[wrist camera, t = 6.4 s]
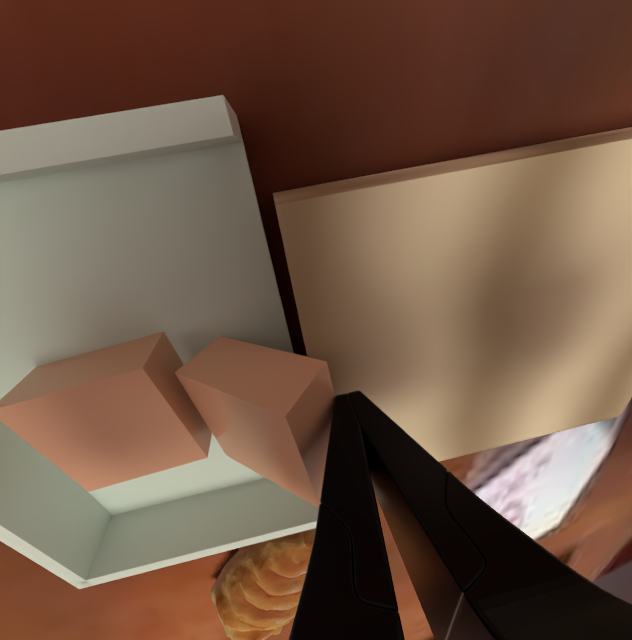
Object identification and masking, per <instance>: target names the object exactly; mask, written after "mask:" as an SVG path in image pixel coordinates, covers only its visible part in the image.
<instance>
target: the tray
mask: <svg viewBox="0 0 632 640" xmlns="http://www.w3.org/2000/svg"><path fill="white" fill-rule="evenodd" d="M163 331H164V333H165V335H166V336H167V338H168V340H169V341H170V343H171V344H172V346H173V348H174V349H175V351H176V352H177V354H178V356H179V357H180V359H181V361H182V362H183V364H184V365H185V364H186V363H187V362H188V361H190V360H191V359H192V358H194V357H195V356H196V355H197V354H199V353H200V352H201V351H202V350H204V349H205V348H206V347H207V346H209V345H210V344H211V343H213V342H214V341H215V340H216V339H218V338H219V337H220V336H223V337H227V338H231V339H235V340H239V341H243V342H248V343H252V344H256V345H260V346H264V347H268V348H273V349H277V350H281V351H285V352H289V353H293V354H294V351H293V347H292V343H291V339H290V334H289V330H288V326H287V322H286V318H285V314H284V309H283V305H282V301H281V297H280V293H279V289H278V285H277V280H276V276H275V272H274V268H273V264H272V260H271V255H270V251H269V247H268V243H267V239H266V235H265V230H264V226H263V222H262V218H261V214H260V210H259V205H258V201H257V197H256V193H255V189H254V185H253V180H252V176H251V172H250V168H249V164H248V160H247V156H246V151H245V147H244V143H243V139H242V135H241V131H240V126H239V122H238V118H237V115H236V114H235V112H234V111H233V109H232V108H231V106H230V104H229V103H228V101H227V100H226V98H225V97H224V95H220V96H214V97H208V98H201V99H195V100H189V101H183V102H176V103H170V104H164V105H158V106H152V107H145V108H139V109H133V110H127V111H121V112H114V113H108V114H102V115H96V116H90V117H83V118H77V119H71V120H65V121H58V122H52V123H46V124H40V125H34V126H27V127H21V128H15V129H9V130H3V131H0V400H1V399H2V398H3V397H4V396H5V395H6V394H7V393H8V392H9V391H10V390H11V389H13V388H14V387H15V386H16V385H17V384H18V383H19V382H20V381H21V380H22V379H23V378H24V377H26V376H27V375H28V374H29V373H30V372H31V371H32V370H33V369H34V368H35V367H36V366H40V365H44V364H47V363H51V362H55V361H58V360H62V359H65V358H69V357H73V356H76V355H80V354H84V353H87V352H91V351H94V350H98V349H102V348H105V347H109V346H113V345H116V344H120V343H123V342H127V341H131V340H134V339H138V338H142V337H145V336H149V335H152V334H156V333H160V332H163ZM318 510H319V508H318V507H316V506H314V505H312V504H311V503H309V502H307V501H305V500H304V499H302V498H300V497H298V496H297V495H295V494H293V493H291V492H290V491H288V490H286V489H284V488H283V487H281V486H279V485H277V484H276V483H274V482H272V481H270V480H269V479H267V478H265V477H263V476H262V475H260V474H258V473H256V472H255V471H253V470H251V469H249V468H248V467H246V466H244V465H242V464H241V463H239V462H237V461H235V460H234V459H232V458H230V457H228V456H227V455H226V454H225V453H224V451H223V449H222V448H221V446H220V445H219V443H218V441H217V440H216V438H215V437H214V435H213V433H212V437H211V442H210V447H209V453H208V458H205V459H201V460H198V461H194V462H191V463H187V464H184V465H180V466H177V467H174V468H170V469H167V470H163V471H160V472H156V473H153V474H149V475H146V476H142V477H139V478H135V479H132V480H128V481H125V482H121V483H118V484H114V485H111V486H107V487H104V488H100V489H97V490H93V491H90V492H88V491H87V490H85V489H84V488H83V487H82V486H80V485H79V484H78V483H77V482H76V481H74V480H73V479H72V478H71V477H69V476H68V475H67V474H66V473H64V472H63V471H62V470H61V469H59V468H58V467H57V466H56V465H54V464H53V463H52V462H51V461H49V460H48V459H47V458H46V457H44V456H43V455H42V454H41V453H39V452H38V451H37V450H36V449H35V448H33V447H32V446H31V445H30V444H28V443H27V442H26V441H25V440H23V439H22V438H21V437H20V436H18V435H17V434H16V433H15V432H13V431H12V430H11V429H10V428H8V427H7V426H6V425H5V424H3V423H2V422H1V421H0V541H1V542H3V543H5V544H6V545H8V546H10V547H11V548H13V549H14V550H16V551H18V552H19V553H21V554H23V555H24V556H26V557H28V558H29V559H31V560H33V561H34V562H36V563H37V564H39V565H41V566H42V567H44V568H46V569H47V570H49V571H51V572H52V573H54V574H56V575H57V576H59V577H60V578H62V579H64V580H65V581H67V582H69V583H70V584H72V585H74V586H75V587H77V588H79V589H81V588H85V587H89V586H93V585H97V584H101V583H105V582H109V581H112V580H116V579H120V578H124V577H128V576H132V575H136V574H140V573H143V572H147V571H151V570H155V569H159V568H163V567H167V566H170V565H174V564H178V563H182V562H186V561H190V560H194V559H198V558H201V557H205V556H209V555H213V554H217V553H221V552H225V551H229V550H232V549H236V548H240V547H244V546H248V545H252V544H256V543H260V542H263V541H267V540H271V539H275V538H279V537H283V536H287V535H290V534H294V533H298V532H302V531H306V530H310V529H314V528H316V523H317V517H318Z"/></svg>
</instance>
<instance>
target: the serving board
mask: <svg viewBox="0 0 632 640" xmlns="http://www.w3.org/2000/svg"><path fill="white" fill-rule="evenodd" d="M273 198H274V203H275V207H276V212H277V217H278V221H279V226H280V231H281V236H282V240H283V245H284V250H285V255H286V259H287V264H288V269H289V273H290V278H291V283H292V288H293V292H294V297H295V302H296V307H297V311H298V316H299V321H300V325H301V330H302V335H303V340H304V344H305V349H306V354H307V357H310V358H314V359H318V360H322V361H327V365H328V369H329V373H330V378H331V382H332V386H333V390H334V394H335V396H336V395H340V394H344V393H347V394H348V393H349V392H353V391H358V390H359V391H361V392H362V393H363V394H364V395H365V396H367V397H368V398H369V399H370V400H371V401H372V402H373V403H374V404H375V405H376V406H378V407H379V408H380V409H381V410H382V411H383V412H384V413H385V414H386V415H387V416H389V417H390V418H391V419H392V420H393V421H394V422H395V423H396V424H397V425H399V426H400V427H401V428H402V429H403V430H404V431H405V432H406V433H407V434H408V435H410V436H411V437H412V438H413V439H414V440H415V441H416V442H417V443H418V444H419V445H421V446H422V447H423V448H424V449H425V450H426V451H427V452H428V453H429V454H431V455H432V456H433V457H434V458H435V459H436V460H437V461H438V462H439V461H443V460H447V459H451V458H455V457H459V456H463V455H467V454H471V453H475V452H479V451H483V450H487V449H491V448H495V447H499V446H503V445H507V444H511V443H515V442H519V441H523V440H527V439H531V438H535V437H539V436H543V435H547V434H551V433H555V432H559V431H563V430H567V429H570V428H574V427H578V426H582V425H586V424H590V423H594V422H598V421H602V420H606V419H610V418H614V417H618V416H620V415H621V414H622V412H623V411H624V409H625V407H626V406H627V404H628V402H629V401H630V399H631V397H632V127H629V128H623V129H618V130H612V131H607V132H602V133H596V134H591V135H585V136H580V137H574V138H569V139H563V140H558V141H553V142H547V143H542V144H536V145H531V146H525V147H520V148H515V149H509V150H504V151H498V152H493V153H487V154H482V155H476V156H471V157H466V158H460V159H455V160H449V161H444V162H438V163H433V164H427V165H422V166H417V167H411V168H406V169H400V170H395V171H389V172H384V173H379V174H373V175H368V176H362V177H357V178H351V179H346V180H340V181H335V182H330V183H324V184H319V185H313V186H308V187H302V188H297V189H291V190H286V191H281V192H275V193H273Z"/></svg>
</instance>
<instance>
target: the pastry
mask: <svg viewBox="0 0 632 640" xmlns="http://www.w3.org/2000/svg"><path fill="white" fill-rule="evenodd" d="M315 529H316V528H314V529H310V530H306V531H302V532H298V533H294V534H290V535H287V536H283V537H279V538H275V539H271V540H267V541H263V542H260V543H256V544H252V545H248V546H244V547H240V548H239V550H238V552H236V553H235V554H234V556H233V557H232V558H231V559H230V560H229V561H228V562H227V563H226V564H225V566H224V567H223V569H222V570H221V573H220V574H219V576H218V577H217V579H216V582H215V584H214V586H213V588H212V590H211V598H212V601H213V602H214V604H215V606H216V609H217V614H218V616H219V618H220V620H221V622H222V624H223V626H224V629H225V633H226V635H227V636H228V637H229V638H230V639H232V640H265V639H266V638H267V637H269V636H270V635H272V634H274V635H276V634H280V632H281V630H282V627H283V625H285V624H287V623H289V622H290V621H291V619H292V618H293V617H295V614H296V610H297V606H298V603H299V599H300V595H301V591H302V587H303V583H304V580H305V576H306V572H307V568H308V563H309V559H310V554H311V550H312V546H313V541H314V535H315Z"/></svg>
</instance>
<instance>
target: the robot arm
mask: <svg viewBox="0 0 632 640" xmlns="http://www.w3.org/2000/svg"><path fill="white" fill-rule="evenodd" d="M374 491H375V493H374ZM375 494H376V496H377V498H378V501H379V503H380V506H381V508H382V511H383V513H384V516H385V518H386V520H387V523H388V525H389V528H390V530H391V533H392V535H393V538H394V540H395V542H396V545H397V547H398V550H399V552H400V555H401V557H402V560H403V562H404V564H405V567H406V569H407V572H408V574H409V577H410V579H411V581H412V584H413V586H414V589H415V591H416V594H417V596H418V599H419V601H420V603H421V606H422V608H423V611H424V613H425V616H426V618H427V621H428V623H429V625H430V628H431V630H432V633H433V635H434V638H435V640H632V603H630V602H627V601H625V600H623V599H621V598H619V597H617V596H615V595H613V594H611V593H610V592H608V591H606V590H604V589H602V588H600V587H599V586H597V585H596V584H594V583H592V582H591V581H589V580H588V579H586V578H585V577H583V576H582V575H580V574H579V573H577V572H576V571H574V570H573V569H572V568H570V567H569V566H567V565H566V564H565V563H563V562H562V561H561V560H560V559H558V558H557V557H556V556H554V555H553V554H552V553H550V552H549V551H548V550H546V549H545V548H544V547H542V546H541V545H540V544H538V543H537V542H536V541H534V540H533V539H532V538H530V537H529V536H528V535H526V534H525V533H524V532H523V531H521V530H520V529H519V528H517V527H516V526H515V525H513V524H512V523H511V522H509V521H508V520H507V519H505V518H504V517H503V516H502V515H500V514H499V513H498V512H496V511H495V510H494V509H493V508H491V507H490V506H489V505H488V504H486V503H485V502H484V501H482V500H481V499H480V498H479V497H478V496H477V495H475V494H474V493H473V492H472V491H471V490H470V489H468V488H467V487H466V486H465V485H464V484H463V483H462V482H460V481H459V480H458V479H457V478H456V477H455V476H454V475H453V474H452V473H451V472H449V471H448V472H447V469H446V468H445V467H444V466H443V465H442V464H440V463H439V462H438V461H437V460H436V459H435V458H434V457H433V456H432V455H431V454H429V453H428V452H427V451H426V450H425V449H424V448H423V447H422V446H421V445H419V444H418V443H417V442H416V441H415V440H414V439H413V438H412V437H411V436H410V435H408V434H407V433H406V432H405V431H404V430H403V429H402V428H401V427H400V426H399V425H397V424H396V423H395V422H394V421H393V420H392V419H391V418H390V417H389V416H387V415H386V414H385V413H384V412H383V411H382V410H381V409H380V408H379V407H378V406H376V405H375V404H374V403H373V402H372V401H371V400H370V399H369V398H368V397H367V396H365V395H364V394H363V393H362V392H361V391H359V390H358V391H353V392H349V393H348V394H347V393H344V394H340V395H336V396H335V399H334V406H333V413H332V420H331V427H330V434H329V441H328V448H327V455H326V462H325V469H324V476H323V483H322V490H321V498H320V503H321V504H319V510H318V517H317V523H316V529H315V535H314V541H313V546H312V550H311V554H310V559H309V563H308V568H307V572H306V576H305V580H304V583H303V587H302V591H301V595H300V599H299V603H298V606H297V610H296V614H295V618H294V622H293V626H292V630H291V633H290V637H289V640H405V639H404V634H403V630H402V625H401V620H400V616H399V613H398V606H397V601H396V596H395V591H394V586H393V581H392V576H391V571H390V566H389V561H388V556H387V552H386V547H385V542H384V537H383V532H382V527H381V522H380V517H379V512H378V507H377V502H376V498H375Z"/></svg>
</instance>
